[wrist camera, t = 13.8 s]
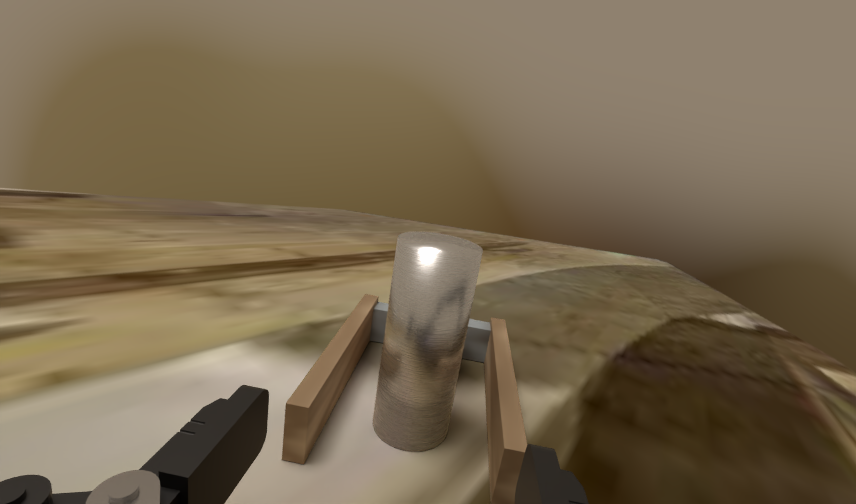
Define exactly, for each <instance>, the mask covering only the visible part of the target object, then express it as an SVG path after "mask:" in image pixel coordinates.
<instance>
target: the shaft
mask: <svg viewBox="0 0 856 504" xmlns="http://www.w3.org/2000/svg"><path fill="white" fill-rule="evenodd" d="M482 252H483V250H482V248H481V247H480V246H478V245H477V244H475V243H473V242H471V241H468V240H465V239H462V238H459V237H455V236H450V235H445V234H439V233H431V232H407V233H402V234H400V235H399V236H398V239H397V247H396V254H395V261H394V268H393V276H392V283H391V290H390V298H389V305H388V312H387V319H386V327H385V334H384V341H383V349H382V356H381V363H380V370H379V378H378V385H377V392H376V400H375V407H374V414H373V427H374V430H375V432H376V434H377V435H378V436H379V437H380V438H381V439H382V440H383V441H384V442H386V443H387V444H389V445H391V446H393V447H395V448H398V449H401V450H405V451H426V450H429V449H432V448H435V447H436V446H438V445H439V444H441V443H442V442H443V441H444V439H445V438H446V435H447V431H448V426H449V421H450V416H451V410H452V405H453V400H454V395H455V390H456V385H457V380H458V375H459V370H460V364H461V359H462V354H463V349H464V344H465V339H466V334H467V329H468V324H469V318H470V313H471V308H472V303H473V298H474V293H475V288H476V283H477V277H478V272H479V267H480V262H481V257H482Z"/></svg>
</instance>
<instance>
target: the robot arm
mask: <svg viewBox="0 0 856 504" xmlns="http://www.w3.org/2000/svg"><path fill="white" fill-rule="evenodd" d="M268 403H269V392H268V390H266V389H262V388H257V387H252V386H247V385H242V386H241V387H239V388H238V389H237V391H236V392H235V393H234V394H233V395H232V396H231V397H230V398H229V399H228V400H227V399H222V398H220V399H218V400H216V401H214V402H212V403H211V404H209V405H207V406H205V407H203V408H202V409H201V410H200V411H199V412H198V413H197V414H196V415H195V416H194V417H193V418H192V419H191V421H190V422H188V423H187V424H186V425H185V426H184V427H182V428H181V429H180V432H177V433H176V434H175V435H174V436H173V437H172V438H171V439H170V440H169V441H168V442H167V443H166V444H165V445H164V446H163V447H162V448H161V449H160V450H159V451H158V452H157V453H156V454H155V455H154V456H153V457H152V458H151V459H149V460H148V461H147V462H146V463H145V464H144V465H143V466H142V467H141V468H140V469H139V470H133V471H127V472H124V473H120V474H118V475H115V476H113V477H111V478H109V479H107V480H106V481H104V482H102V483H101V484H100V485H98V486H97V487H96V488H95V489H94V490H93V491H88V492H74V493H59V494H52V488H51V483H50V481H49V480H48V479H47V478H45V477H43V476H40V475H24V476H18V477H14V478H10V479H7V480H4V481H2V482H0V504H224V503H225V502H226V500H227V499H228V497H229V496H230V494H231V493H232V492H233V490H234V489H235V487H236V486H237V484H238V483H239V482H240V480H241V479H242V477H243V476H244V474H245V473H246V471H247V470H248V469H249V467H250V466H251V464H252V463H253V461H254V460H255V459H256V457H257V456H258V454H259V453H260V451H261V449H262V447H263V444H264V441H265V438H266V433H267V420H268ZM515 504H588V501H587V497H586V494H585V491H584V488H583V487H582V485H581V484H580V482H579V481H578V480H577V478H576V477H575V476H574V474H573V473H572V472H570V471H566V470H561V469H560V467H559V463H558V459H557V455H556V452H555V450H554V449H552V448H547V447H542V446H537V445H532V444H528V445H527V447H526V450H525V454H524V458H523V462H522V466H521V470H520V473H519V477H518V481H517V485H516V491H515Z"/></svg>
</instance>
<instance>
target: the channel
mask: <svg viewBox="0 0 856 504" xmlns="http://www.w3.org/2000/svg"><path fill="white" fill-rule="evenodd" d="M388 305H389V304H387V303H382V302H378V296H373V295H367V294H365V295H364V297H363V298H362V299H361V301H360V302H359V303H358V305H357V306H356V308H355V309H354V310H353V312H352V313H351V314H350V316H349V317H348V319H347V320H346V321H345V323H344V324H343V325H342V327H341V328H340V330H339V331H338V332H337V334H336V335H335V336H334V338H333V339H332V341H331V342H330V343H329V345H328V346H327V347H326V349H325V350H324V352H323V353H322V354H321V356H320V357H319V358H318V360H317V361H316V363H315V364H314V365H313V367H312V368H311V370H310V371H309V372H308V374H307V375H306V376H305V378H304V379H303V381H302V382H301V383H300V385H299V386H298V387H297V389H296V390H295V392H294V393H293V394H292V396H291V397H290V398H289V400H288V401H287V403H286V410H285V424H284V438H283V452H282V460H286V461H291V462H296V463H300V464H304V463H305V461H306V459H307V457H308V455H309V453H310V451H311V450H312V448H313V446H314V444H315V442H316V440H317V438H318V436H319V435H320V433H321V431H322V429H323V427H324V425H325V423H326V421H327V419H328V418H329V416H330V414H331V412H332V410H333V408H334V406H335V404H336V403H337V401H338V399H339V397H340V395H341V393H342V391H343V389H344V388H345V386H346V384H347V382H348V380H349V378H350V376H351V374H352V372H353V371H354V369H355V367H356V365H357V363H358V361H359V359H360V357H361V356H362V354H363V352H364V350H365V348H366V346H367V344H368V342H369V341H375V342H380V343H383V341H384V334H385V327H386V319H387V312H388ZM462 358H463V359H468V360H473V361H479V362H484V373H485V394H486V415H487V436H488V457H489V478H490V499H491V504H515V491H516V485H517V481H518V477H519V473H520V470H521V466H522V462H523V458H524V454H525V450H526V447H527V441H526V435H525V430H524V424H523V418H522V413H521V407H520V402H519V396H518V390H517V385H516V379H515V374H514V368H513V362H512V357H511V351H510V346H509V340H508V334H507V329H506V323H505V320H502V319H496V318H491V321H490V323H489V322H483V321H478V320H473V319H469V324H468V329H467V334H466V339H465V344H464V349H463V354H462Z"/></svg>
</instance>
